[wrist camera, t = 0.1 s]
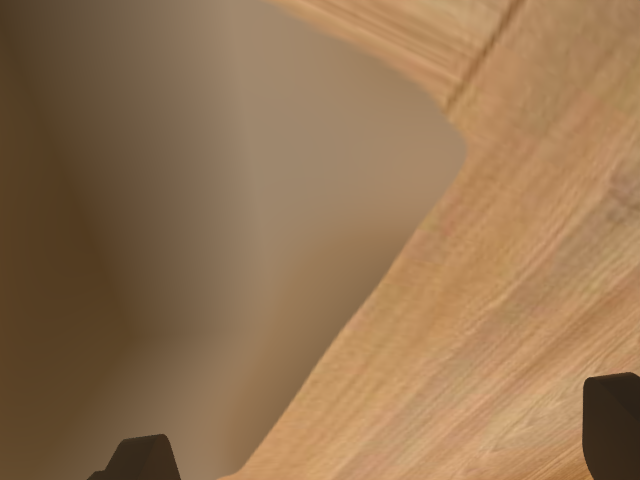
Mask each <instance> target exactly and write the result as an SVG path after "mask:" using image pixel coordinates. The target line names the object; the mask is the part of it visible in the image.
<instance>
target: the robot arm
mask: <svg viewBox="0 0 640 480" xmlns="http://www.w3.org/2000/svg"><path fill="white" fill-rule="evenodd" d="M582 446H583V453H584V457H585V461H586V464H587V466H588V469H589V471H590V473H591V475H592V477H593V479H594V480H640V377H639V376H637V375H636V374H634V373H631V372H626V373H619V374H611V375H604V376H597V377H589V378H587V379H586V380H585V382H584V387H583V435H582ZM87 480H181V479H180V475H179V472H178V468H177V465H176V462H175V459H174V455H173V452H172V448H171V445H170V442H169V440H168V438H167V436H166V435H164V434H159V435H151V436H144V437H136V438H129V439H124V440H123V441H122V442H121V443H120V444H119V445H118V447H117V449H116V451H115V453H114V455H113V456H112V458H111V460H110V462H109V464H108V465H107V467H106V469H105V470H104V471H97V472H94V473H93V474H92V475H91V476H90V477H89V478H88V479H87Z"/></svg>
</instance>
